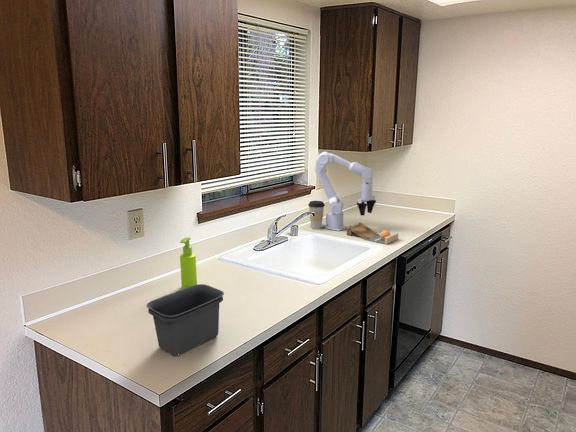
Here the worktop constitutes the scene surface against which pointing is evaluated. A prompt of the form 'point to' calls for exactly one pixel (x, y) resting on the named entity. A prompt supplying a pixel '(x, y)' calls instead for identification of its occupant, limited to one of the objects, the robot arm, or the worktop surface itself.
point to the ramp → (361, 231)
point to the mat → (379, 240)
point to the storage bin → (186, 317)
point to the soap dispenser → (188, 265)
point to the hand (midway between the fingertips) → (365, 214)
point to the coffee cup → (316, 213)
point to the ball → (385, 234)
